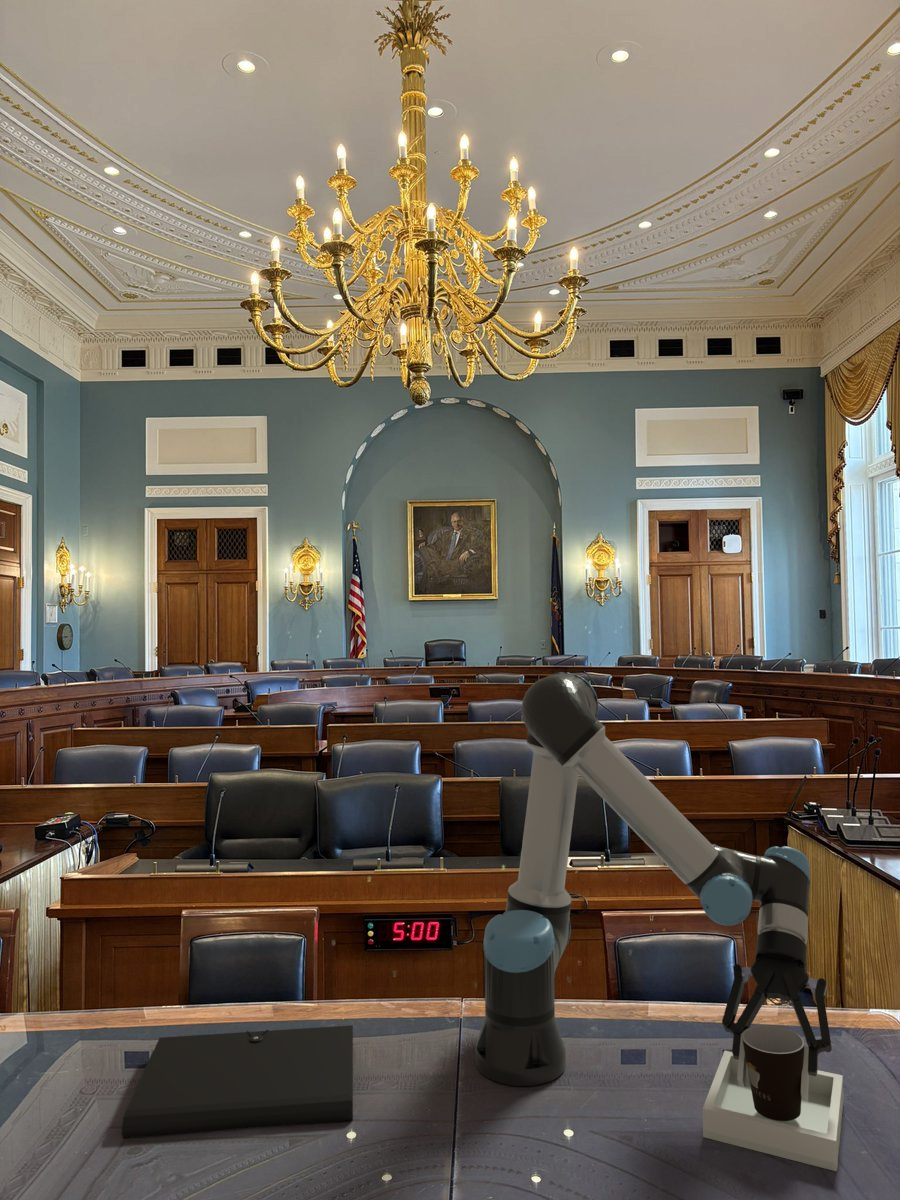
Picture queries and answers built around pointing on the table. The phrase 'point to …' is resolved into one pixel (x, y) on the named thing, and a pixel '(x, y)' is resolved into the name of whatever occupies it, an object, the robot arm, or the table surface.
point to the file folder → (244, 1081)
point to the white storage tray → (796, 1140)
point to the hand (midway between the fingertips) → (772, 1090)
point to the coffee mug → (774, 1070)
